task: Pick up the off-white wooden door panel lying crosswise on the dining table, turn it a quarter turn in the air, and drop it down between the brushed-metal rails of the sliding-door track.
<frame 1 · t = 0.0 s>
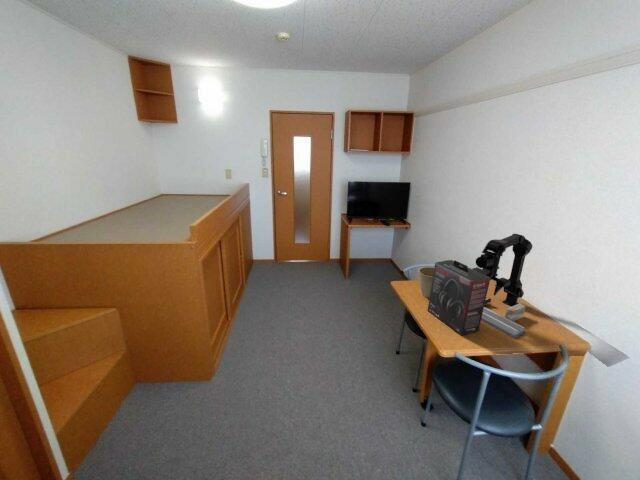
hand: (486, 291, 153), 15 cm above the table, tool pointing down, fingers open, 9 cm apart
plant pot: (428, 295, 178), on the table
headset box: (451, 320, 152), on the table
clip-on lamp: (470, 302, 171), on the table
door track: (495, 322, 151), on the table
door panel: (513, 318, 155), on the table
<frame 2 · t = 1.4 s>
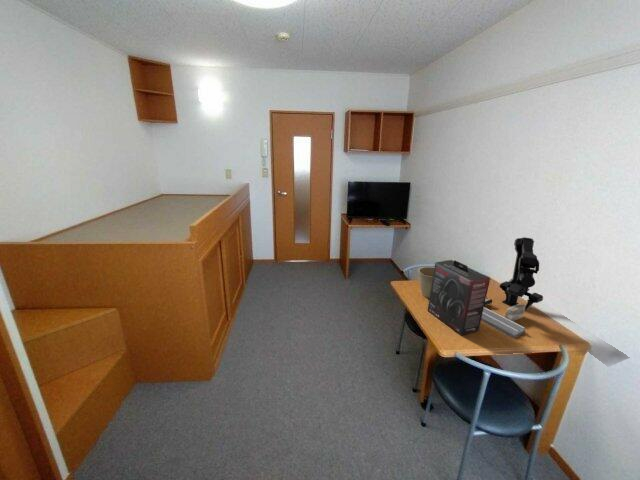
hand: (516, 305, 153), 8 cm above the table, tool pointing down, fingers open, 9 cm apart
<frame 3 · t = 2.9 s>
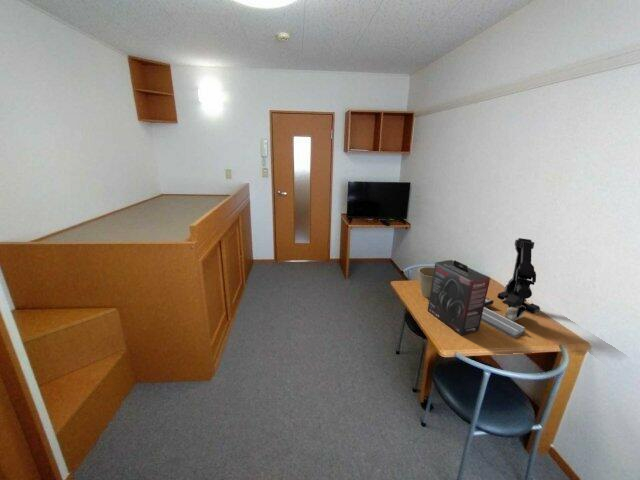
hand: (514, 315, 154), 2 cm above the table, tool pointing down, fingers closed on door panel, 3 cm apart
clip-on lamp: (472, 304, 169), on the table
door panel: (513, 318, 155), on the table, touching gripper
everything else where it was.
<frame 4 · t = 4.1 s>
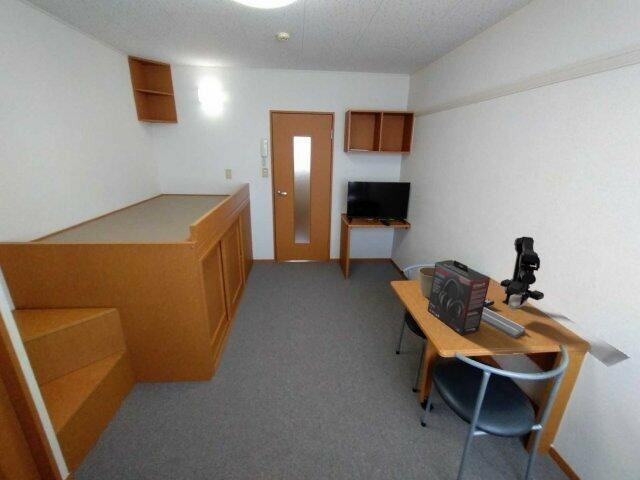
hand: (517, 303, 152), 9 cm above the table, tool pointing down, fingers closed on door panel, 3 cm apart
door panel: (516, 306, 152), point 8 cm above the table, touching gripper
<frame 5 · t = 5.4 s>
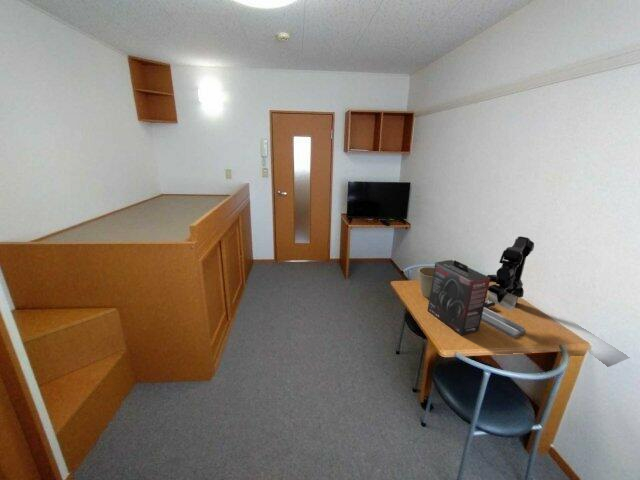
hand: (500, 301, 147), 13 cm above the table, tool pointing down, fingers closed on door panel, 3 cm apart
door panel: (500, 304, 147), point 11 cm above the table, touching gripper
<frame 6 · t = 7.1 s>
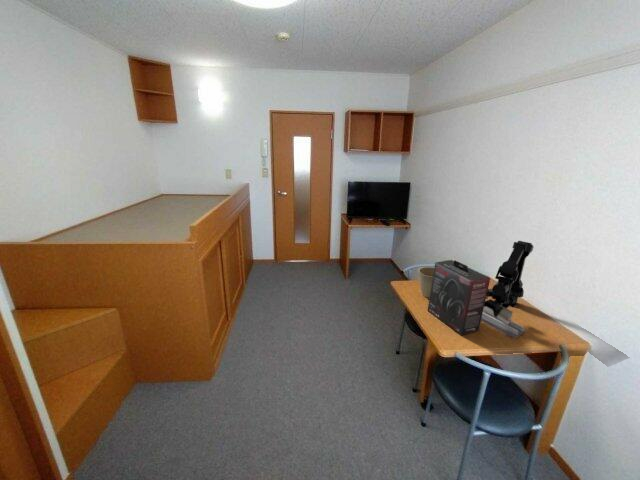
hand: (497, 315, 149), 4 cm above the table, tool pointing down, fingers closed on door panel, 3 cm apart
clip-on lamp: (475, 305, 168), on the table, touching door track
door panel: (496, 318, 150), point 3 cm above the table, touching gripper
everything else where it was.
when the fingers open (4 cm above the table, at t = 7.6 s): door panel drops 1 cm, resting on door track.
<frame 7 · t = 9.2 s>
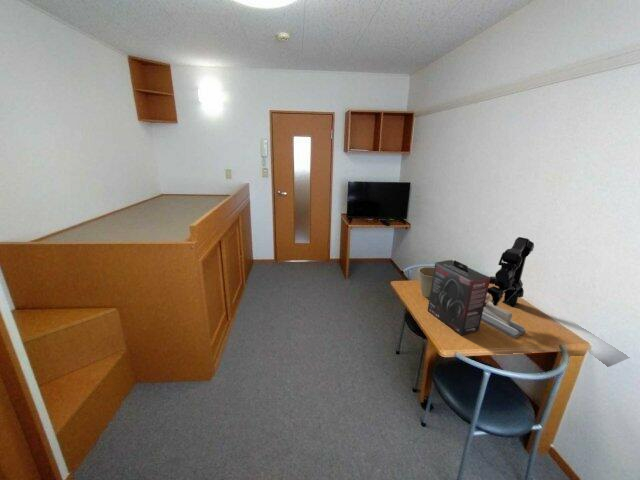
hand: (500, 303, 147), 12 cm above the table, tool pointing down, fingers open, 9 cm apart
clip-on lamp: (476, 305, 167), on the table
door panel: (496, 320, 150), point 1 cm above the table, touching door track
everything else where it was.
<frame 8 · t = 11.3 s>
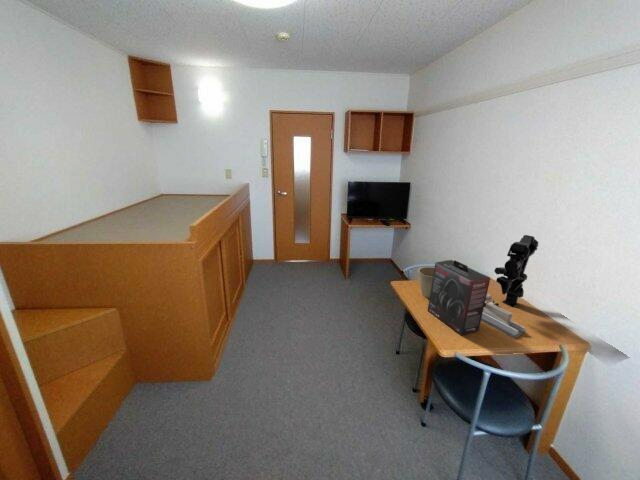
hand: (508, 292, 156), 13 cm above the table, tool pointing down, fingers open, 9 cm apart
at the end: door panel inside the target area on the door track (0.1 cm from its centre), point 1.5 cm above the door track's base; door panel tilted 0°; the gripper is holding nothing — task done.
